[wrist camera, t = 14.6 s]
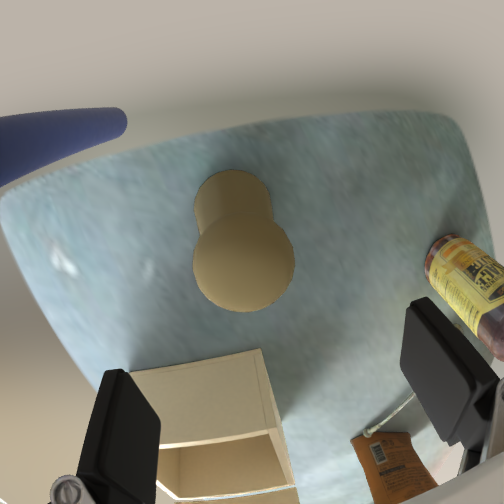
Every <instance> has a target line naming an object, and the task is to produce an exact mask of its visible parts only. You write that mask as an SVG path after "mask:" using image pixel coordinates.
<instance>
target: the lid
mask: <svg viewBox="0 0 504 504" xmlns="http://www.w3.org/2000/svg"><path fill="white" fill-rule="evenodd" d="M174 504H300V502H299V497H298V493H297V489H296V487H293V488H289V489H284V490H279V491H274V492H269V493H263V494H257V495H251V496H244V497H236V498H228V499H219V500H208V501H193V502H175V503H174Z"/></svg>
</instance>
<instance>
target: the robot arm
mask: <svg viewBox="0 0 504 504" xmlns="http://www.w3.org/2000/svg"><path fill="white" fill-rule="evenodd" d="M400 367H401V370H402V372H403V374H404V375H405V377H406V379H407V380H408V382H409V384H410V386H411V387H412V389H413V391H414V392H415V394H416V396H417V398H418V399H419V401H420V403H421V405H422V406H423V408H424V410H425V412H426V413H427V415H428V417H429V419H430V420H431V422H432V424H433V426H434V428H435V430H436V431H437V433H438V435H439V437H440V439H441V440H442V441H443V442H445V441H447V443H448V445H449V447H450V446H452V445H454V444H456V443H458V442H459V441H461V443H462V445H463V446H464V448H465V449H464V453H463V456H462V460H461V464H460V468H459V471H458V475H457V477H455V478H453V479H452V480H450V481H448V482H446V483H444V484H442V485H439V486H437V487H435V488H433V489H431V490H429V491H427V492H425V493H422V494H420V495H418V496H416V497H414V498H411V499H409V500H406V501H404V502H402V503H399V504H504V378H502V379H501V380H500V378H499V377H498V376H497V375H496V373H495V372H494V371H493V370H492V368H491V367H490V366H489V365H488V363H487V362H486V361H485V360H484V358H483V357H482V356H481V355H480V354H479V352H478V351H477V350H476V349H475V348H474V346H473V345H472V344H471V343H470V342H469V340H468V339H467V338H466V337H465V336H464V335H463V333H462V332H461V331H460V330H459V329H458V328H457V327H455V326H454V325H453V324H452V323H451V322H450V321H449V319H448V318H447V317H446V316H445V315H444V314H443V313H442V312H441V311H440V309H439V308H438V307H437V306H436V305H435V304H434V303H433V302H432V301H431V300H430V299H429V298H428V297H423V298H420V299H417V300H415V301H412V302H411V303H410V307H408V308H407V309H406V317H405V326H404V335H403V343H402V350H401V357H400ZM160 434H161V421H160V418H159V416H158V415H157V413H156V412H155V411H154V409H153V408H152V406H151V405H150V404H149V402H148V401H147V399H146V398H145V396H144V395H143V394H142V392H141V391H140V389H139V388H138V386H137V385H136V383H135V382H134V380H133V379H132V377H131V375H130V374H129V373H128V372H125V371H124V370H123V369H114V370H106V371H105V372H104V375H103V378H102V381H101V384H100V387H99V391H98V394H97V397H96V401H95V404H94V408H93V411H92V414H91V418H90V421H89V425H88V429H87V433H86V436H85V440H84V444H83V448H82V452H81V456H80V461H79V464H78V469H77V474H76V476H73V475H64V476H62V477H59V478H58V479H57V480H56V481H55V482H54V483H53V485H52V487H51V490H50V500H51V502H50V503H48V504H155V499H156V482H157V468H158V456H159V445H160Z"/></svg>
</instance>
